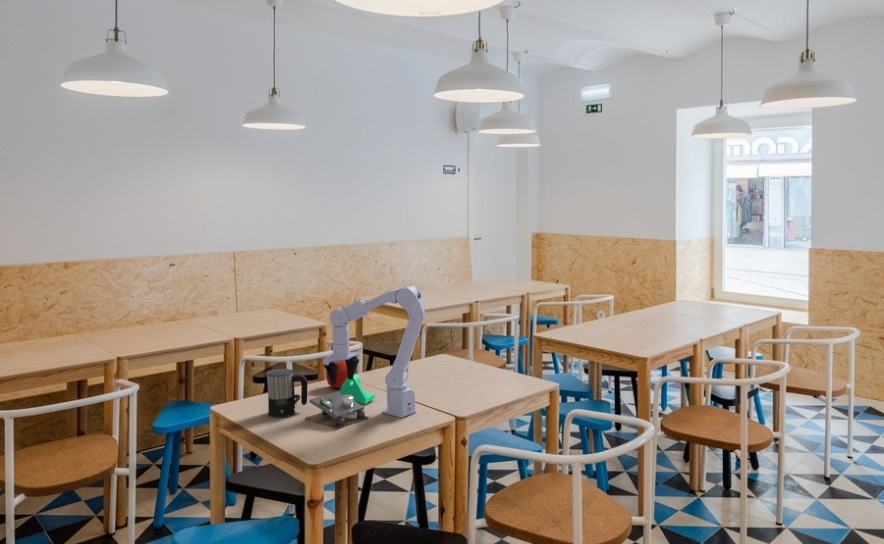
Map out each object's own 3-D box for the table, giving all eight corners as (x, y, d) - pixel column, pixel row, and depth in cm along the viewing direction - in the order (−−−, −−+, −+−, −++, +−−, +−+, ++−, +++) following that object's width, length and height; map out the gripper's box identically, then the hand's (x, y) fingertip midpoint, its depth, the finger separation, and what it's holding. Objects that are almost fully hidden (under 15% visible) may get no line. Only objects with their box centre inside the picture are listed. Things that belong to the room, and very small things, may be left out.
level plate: (363, 409, 223) (365, 398, 222) (336, 418, 214) (337, 407, 213) (336, 394, 232) (338, 383, 231) (309, 402, 223) (310, 391, 222)
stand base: (369, 418, 223) (368, 410, 223) (337, 429, 213) (336, 421, 212) (337, 409, 234) (336, 401, 234) (305, 419, 223) (304, 411, 223)
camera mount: (375, 400, 245) (375, 373, 243) (365, 406, 238) (365, 378, 236) (347, 397, 249) (346, 370, 248) (336, 403, 242) (335, 375, 241)
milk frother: (272, 419, 223) (271, 376, 222) (257, 408, 237) (256, 367, 235) (312, 412, 231) (311, 370, 230) (295, 401, 244) (294, 361, 243)
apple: (325, 385, 266) (324, 356, 264) (350, 383, 268) (350, 355, 267) (326, 392, 256) (326, 362, 255) (353, 390, 258) (352, 360, 257)
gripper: (349, 338, 238) (350, 375, 240) (317, 345, 228) (318, 383, 229) (362, 340, 234) (363, 378, 235) (330, 347, 223) (331, 387, 224)
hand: (342, 381), depth 232 cm, fingers open, 7 cm apart
